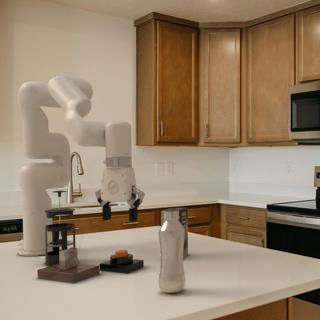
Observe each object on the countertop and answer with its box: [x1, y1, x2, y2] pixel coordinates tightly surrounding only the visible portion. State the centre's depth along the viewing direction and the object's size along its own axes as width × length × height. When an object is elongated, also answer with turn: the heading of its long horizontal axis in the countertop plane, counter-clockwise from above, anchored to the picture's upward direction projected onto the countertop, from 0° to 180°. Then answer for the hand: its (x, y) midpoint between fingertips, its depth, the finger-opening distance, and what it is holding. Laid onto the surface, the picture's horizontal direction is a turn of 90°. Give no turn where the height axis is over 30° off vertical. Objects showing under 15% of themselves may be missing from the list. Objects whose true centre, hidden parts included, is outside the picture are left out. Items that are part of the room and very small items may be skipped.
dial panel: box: [36, 262, 100, 284], centre depth 127 cm, size 13×10×3 cm
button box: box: [98, 253, 145, 275], centre depth 135 cm, size 10×8×4 cm
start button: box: [114, 249, 129, 257], centre depth 135 cm, size 4×4×2 cm
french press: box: [44, 189, 76, 267], centre depth 144 cm, size 12×9×23 cm
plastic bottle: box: [157, 210, 186, 294], centre depth 112 cm, size 6×7×20 cm
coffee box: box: [160, 207, 189, 259], centre depth 150 cm, size 9×6×16 cm
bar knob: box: [59, 246, 79, 270], centre depth 127 cm, size 5×2×5 cm, turn 156°
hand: (119, 220), depth 135 cm, fingers open, 9 cm apart
